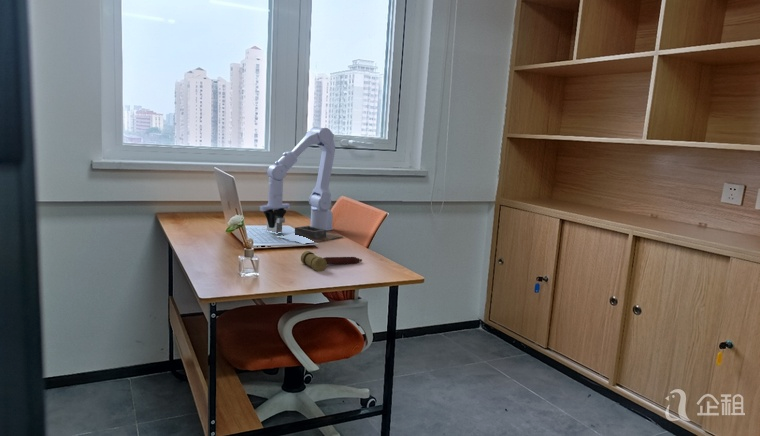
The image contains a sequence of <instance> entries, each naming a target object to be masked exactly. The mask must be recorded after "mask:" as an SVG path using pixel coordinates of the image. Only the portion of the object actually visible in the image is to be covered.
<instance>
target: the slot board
mask: <svg viewBox="0 0 760 436" xmlns="http://www.w3.org/2000/svg"><path fill="white" fill-rule="evenodd" d="M294 233H295V235H299V236H303V237H306V238H308V239H310V240H312V241H314V242H317V243H322V242H328V241H332V240H333V241H334V240H338V239H343V238H344V236H343V235H340V234H336V233H332V232H328V231H327V230H325V229H320V228H316V227H312V226H310V225H304V226H297V227H294Z"/></svg>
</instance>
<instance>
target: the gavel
mask: <svg viewBox="0 0 760 436" xmlns="http://www.w3.org/2000/svg"><path fill="white" fill-rule="evenodd" d="M300 261H301V263H302V264H303V265H305V266H309V267H311V268H312V269H313V270H314V271H315V272H321V271H322V272H323V271H325V269H326V268H327V266H329V265H330V266H334V265H339V266H340V265H355V264H358V263H362V262H363V259H362V258H360V257H356V256H328V257H327V256H326V257H322V256H318V255H316V254H315V253H313V251H310V250H306V251H304V252H303V253H302V254H301V256H300Z"/></svg>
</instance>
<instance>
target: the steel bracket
mask: <svg viewBox="0 0 760 436" xmlns="http://www.w3.org/2000/svg"><path fill="white" fill-rule="evenodd" d="M285 219H286V217H285V216H284V217H280V216H276V215H275V218H274V227H273V228H270V227H269V226H268V221H267V220H266V231H267V230H268V231H272V232H276V233H278V232H282V233H283V224H284V223H286V220H285Z"/></svg>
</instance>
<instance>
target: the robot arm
mask: <svg viewBox="0 0 760 436" xmlns="http://www.w3.org/2000/svg"><path fill="white" fill-rule="evenodd" d="M305 133H306V134H305V135H304V137H302V139H301V140H300V141H299V142H298V143H297V144H296V145H295V146H294V147H293V149H292V150H291V151H285V152H283V153H282V154H281V155H282V156H281V157H280V158H279V159H278V160H276V161H275V162H274V164H271V165H269V167H268V168H267V171H266V175H267V177H268V195H267V196H268V197H267V200H268V201H267V204H263V205H259V211H260V212H263V214H264V215H265V218H266V222H267V221H268V226H269V227H270V228H273V227H274V218H275V215H276V216H280V217H284V218H285V214H286V213H287V210H286V209H288V210H289V209H290V208H291V204H290V203H286V202H285V203H283V198H284V197H283V196H284V194H283V192H284V191H283V190H284V178H286V176H287V172H289V171H290V170H291V168H292V167H293V166H294V165H295V164H296V163H297V162H298V157H299V156H301V154H303V152H305V151H306V150H307V149H308V148H309V147H311V146H313V145H317V146H318V147H319V148H320V150H321V155H320V162H319V167H318V173H317V177H316V178H317V179H316V183H315V187H314V188H313V189H312V190H311V194H310V195H309V197H308V203H309V205H310V224H309V226H312V227H316V228H320V229H325V230H327V231H326V232H328V231H334V228H333V212H332V210H331V209H330V208H331V205H332V198H331V195H332V193H331V191H330V190H329V188H330V181H331V176H332V169H333V165H334V158H335V153H336V145H335V141H334V135H335V134H334V132H333V131H332V130H331V129H330V128H328V127H319V126H313V127H312V128H310V130H308V131H307V132H305Z"/></svg>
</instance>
